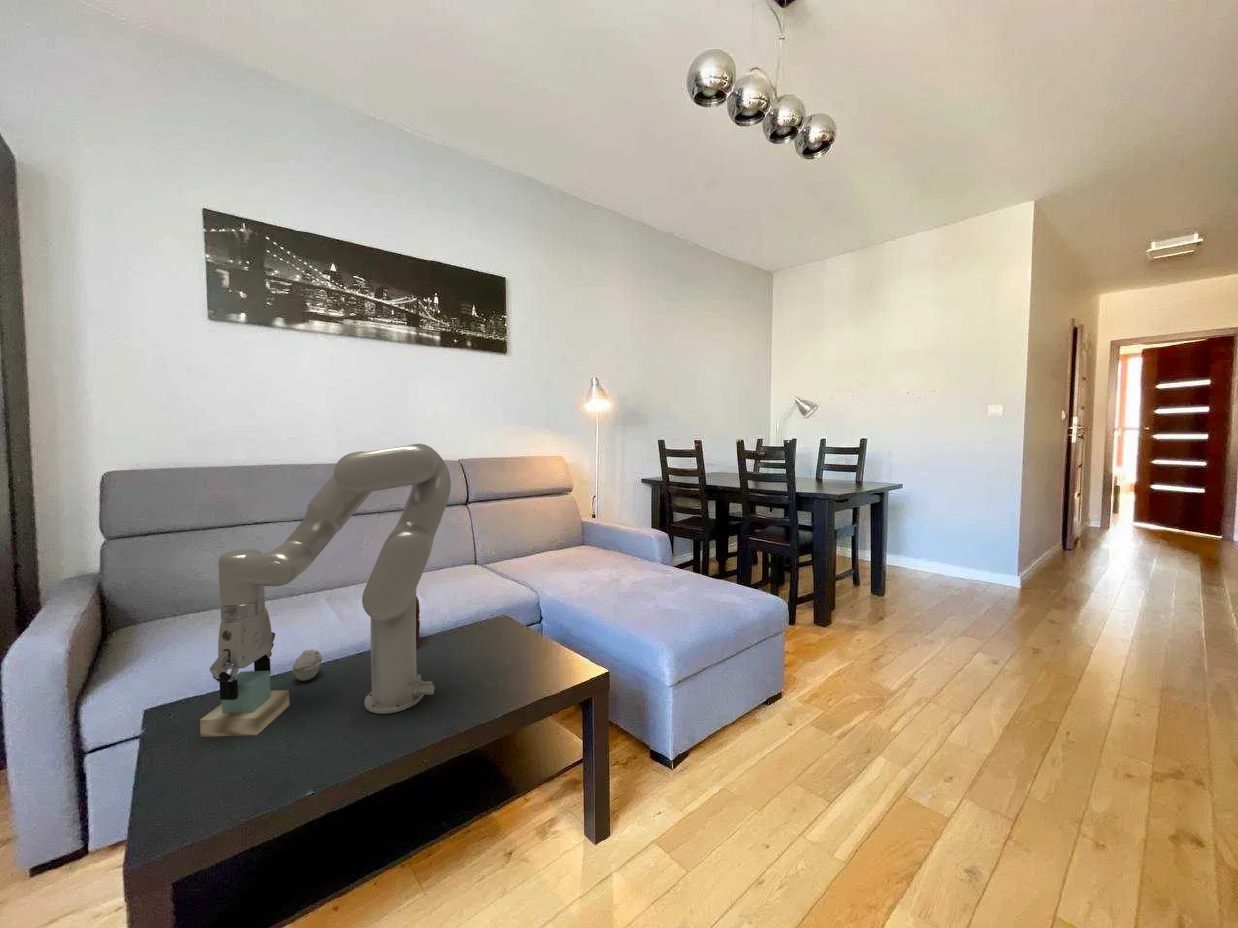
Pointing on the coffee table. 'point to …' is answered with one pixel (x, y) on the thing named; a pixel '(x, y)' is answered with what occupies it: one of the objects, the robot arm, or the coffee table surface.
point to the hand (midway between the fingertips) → (246, 686)
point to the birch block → (244, 718)
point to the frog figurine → (307, 665)
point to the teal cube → (249, 692)
